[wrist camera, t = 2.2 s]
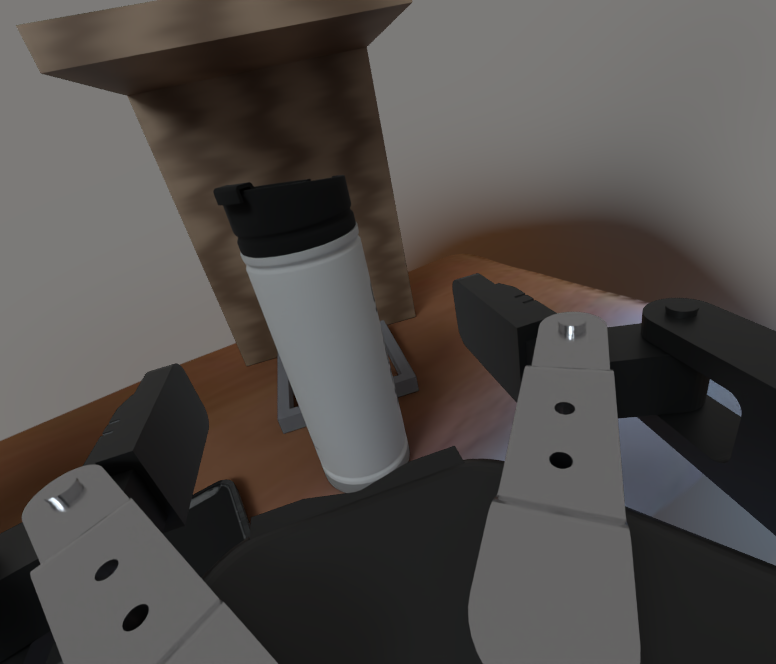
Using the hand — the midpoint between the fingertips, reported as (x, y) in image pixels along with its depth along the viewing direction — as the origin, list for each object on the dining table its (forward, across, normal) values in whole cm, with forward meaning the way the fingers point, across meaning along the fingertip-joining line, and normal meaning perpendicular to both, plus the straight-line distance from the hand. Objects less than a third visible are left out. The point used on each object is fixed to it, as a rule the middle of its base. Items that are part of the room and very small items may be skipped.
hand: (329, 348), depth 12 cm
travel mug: (+11, 0, +16) cm, 20 cm away
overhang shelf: (+25, +1, +16) cm, 30 cm away
